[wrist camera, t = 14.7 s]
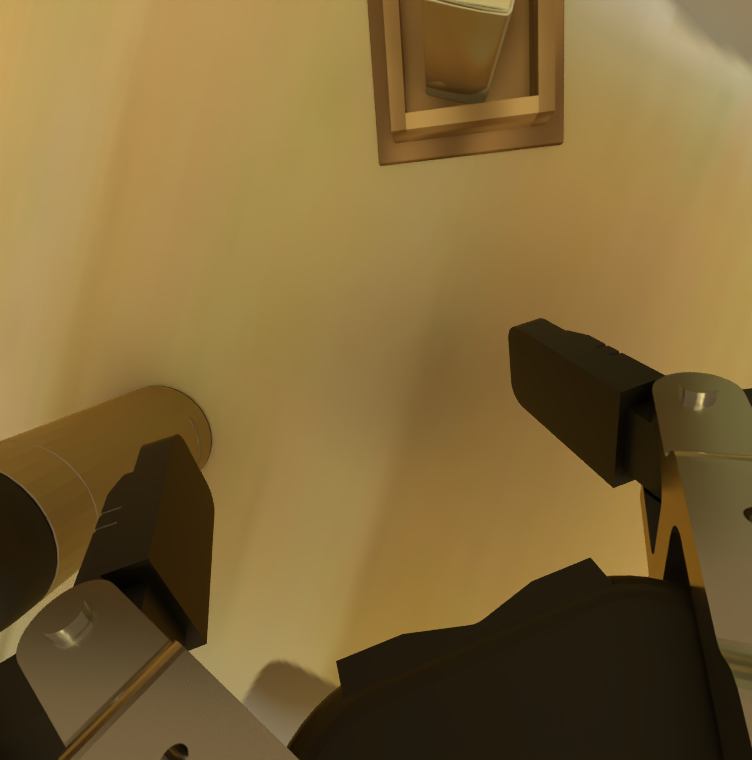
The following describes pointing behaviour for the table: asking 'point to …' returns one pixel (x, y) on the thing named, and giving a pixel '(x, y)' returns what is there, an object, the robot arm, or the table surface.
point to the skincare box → (463, 46)
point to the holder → (458, 119)
